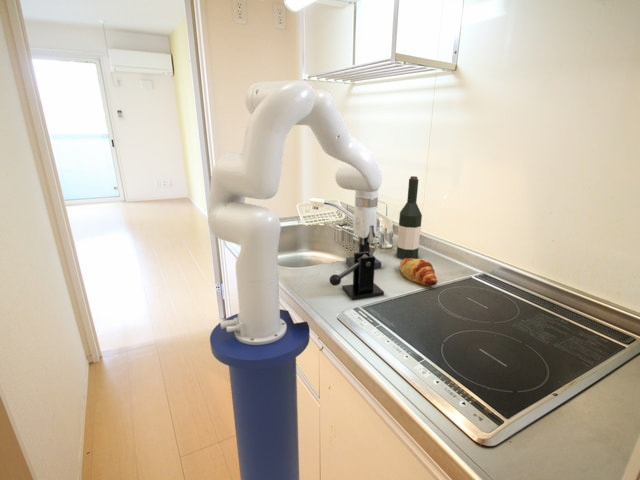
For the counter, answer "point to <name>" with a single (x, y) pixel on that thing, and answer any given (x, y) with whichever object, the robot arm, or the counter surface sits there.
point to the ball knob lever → (344, 273)
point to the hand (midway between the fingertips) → (364, 254)
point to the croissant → (418, 271)
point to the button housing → (377, 263)
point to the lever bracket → (363, 279)
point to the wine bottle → (409, 224)
